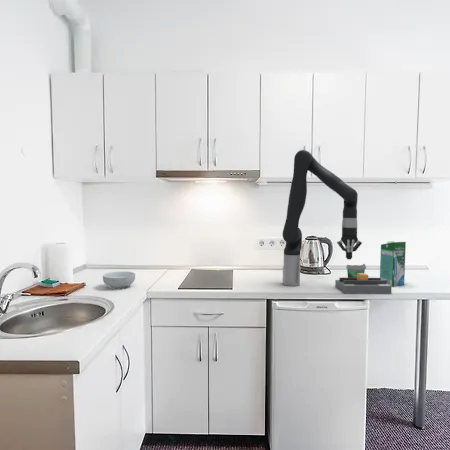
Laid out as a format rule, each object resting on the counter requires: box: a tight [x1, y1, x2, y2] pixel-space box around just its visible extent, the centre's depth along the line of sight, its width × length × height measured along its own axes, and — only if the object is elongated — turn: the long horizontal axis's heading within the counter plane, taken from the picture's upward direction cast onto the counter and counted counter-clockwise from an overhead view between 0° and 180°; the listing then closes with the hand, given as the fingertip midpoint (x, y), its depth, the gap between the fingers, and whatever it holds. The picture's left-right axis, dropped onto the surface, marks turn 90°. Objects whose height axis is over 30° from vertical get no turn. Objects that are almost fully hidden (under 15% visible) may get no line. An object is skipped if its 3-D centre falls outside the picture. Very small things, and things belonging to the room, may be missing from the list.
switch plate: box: [334, 277, 392, 295], centre depth 175 cm, size 24×14×6 cm, turn 90°
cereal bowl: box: [102, 270, 136, 290], centre depth 181 cm, size 17×17×7 cm
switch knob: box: [357, 272, 369, 280], centre depth 175 cm, size 4×4×4 cm
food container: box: [345, 263, 367, 278], centre depth 195 cm, size 12×6×10 cm, turn 105°
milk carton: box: [379, 240, 407, 287], centre depth 189 cm, size 9×9×25 cm
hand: (348, 259), depth 174 cm, fingers closed
